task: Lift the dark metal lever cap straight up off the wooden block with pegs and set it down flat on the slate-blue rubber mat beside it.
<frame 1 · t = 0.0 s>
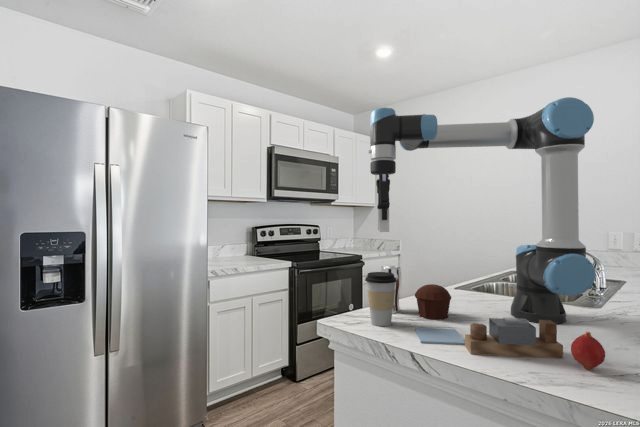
hand: (383, 231, 106), 28 cm above the counter, fingers open, 13 cm apart
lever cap: (511, 339, 84), point 3 cm above the counter, touching wooden block with pegs
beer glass: (391, 311, 121), on the counter
wooden block with pegs: (511, 352, 84), on the counter
muffin: (432, 316, 114), on the counter
onion: (587, 370, 74), on the counter
coffee cup: (380, 324, 106), on the counter
mat: (438, 336, 95), on the counter
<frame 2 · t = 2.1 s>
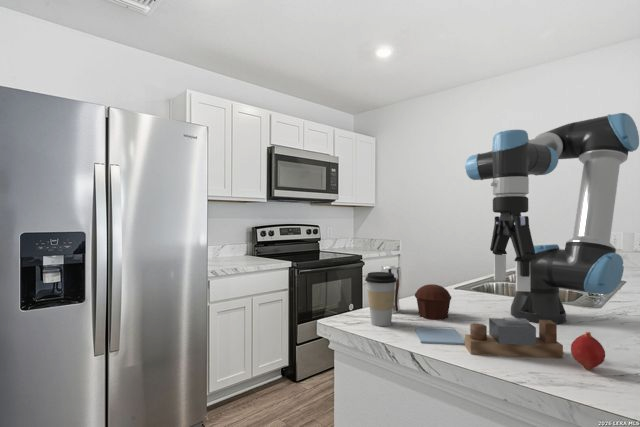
hand: (510, 285, 84), 16 cm above the counter, fingers open, 13 cm apart
nothing on the counter moved.
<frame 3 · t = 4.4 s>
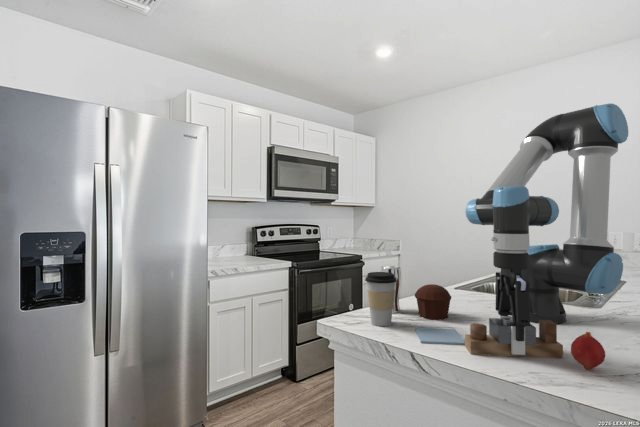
hand: (511, 347, 84), 1 cm above the counter, fingers closed on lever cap, 6 cm apart
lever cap: (511, 339, 84), point 3 cm above the counter, touching gripper, wooden block with pegs
everything else where it was.
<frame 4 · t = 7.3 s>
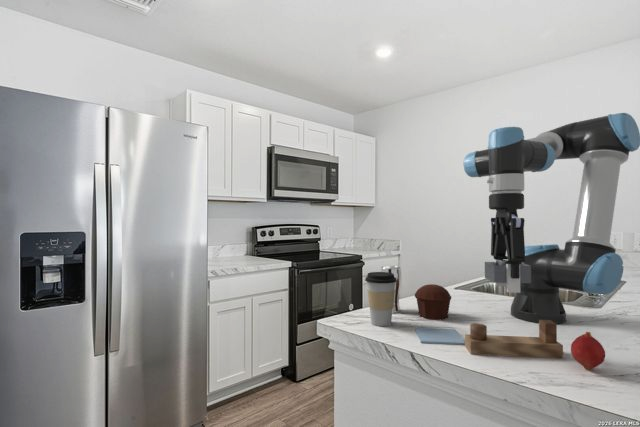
hand: (506, 288, 84), 15 cm above the counter, fingers closed on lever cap, 6 cm apart
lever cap: (506, 280, 84), point 17 cm above the counter, touching gripper
everything else where it was.
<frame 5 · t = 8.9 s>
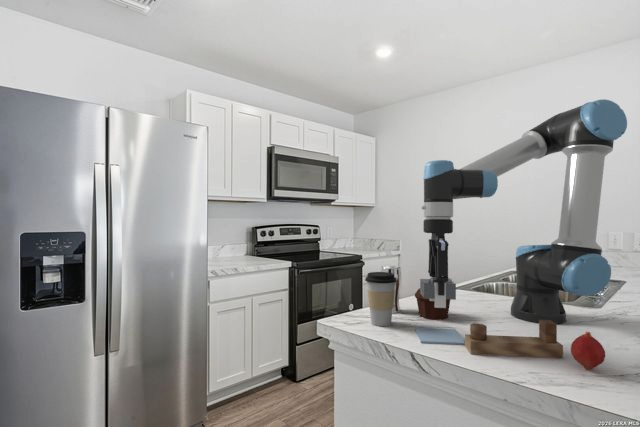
hand: (437, 303, 95), 9 cm above the counter, fingers closed on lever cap, 6 cm apart
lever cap: (437, 296, 95), point 11 cm above the counter, touching gripper
everything else where it was.
when the fingers open (1 cm above the counter, at t = 10.4 s): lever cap drops 2 cm, resting on mat.
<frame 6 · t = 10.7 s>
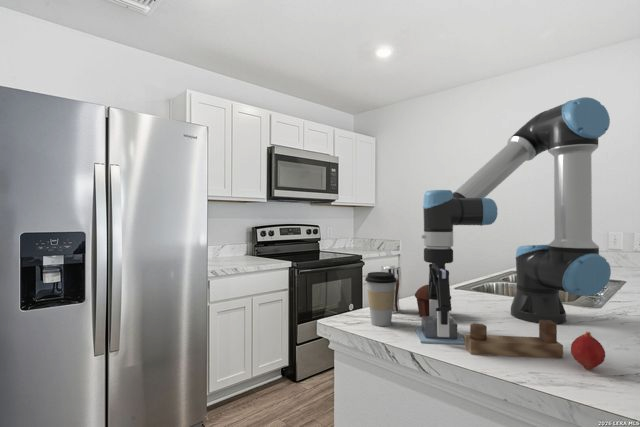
hand: (438, 329, 95), 2 cm above the counter, fingers open, 11 cm apart
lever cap: (438, 334, 95), resting on mat
everything else where it was.
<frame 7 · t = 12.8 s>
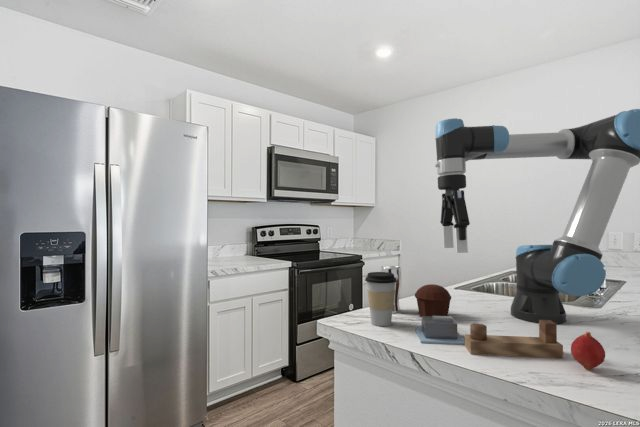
hand: (454, 250, 99), 23 cm above the counter, fingers open, 13 cm apart
nothing on the counter moved.
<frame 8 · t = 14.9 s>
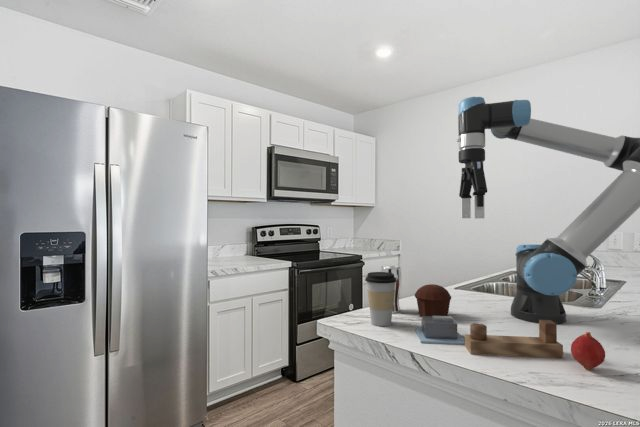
hand: (472, 218, 108), 32 cm above the counter, fingers open, 13 cm apart
nothing on the counter moved.
at the end: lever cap 0.0 cm off-centre on the mat, point 0.5 cm above the mat's base; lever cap touching mat; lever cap tilted 0° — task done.
